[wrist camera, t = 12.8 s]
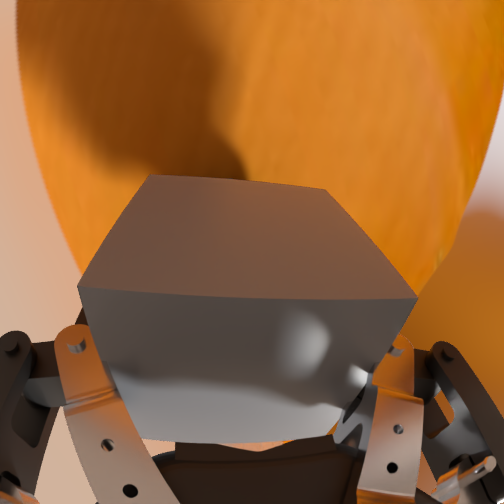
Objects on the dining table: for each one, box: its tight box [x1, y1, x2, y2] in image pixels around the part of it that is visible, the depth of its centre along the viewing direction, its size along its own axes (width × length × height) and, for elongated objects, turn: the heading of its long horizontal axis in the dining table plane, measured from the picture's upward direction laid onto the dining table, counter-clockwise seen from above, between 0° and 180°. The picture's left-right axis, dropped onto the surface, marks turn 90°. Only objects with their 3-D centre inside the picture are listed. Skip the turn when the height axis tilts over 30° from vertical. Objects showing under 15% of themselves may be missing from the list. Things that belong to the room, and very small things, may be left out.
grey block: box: [77, 174, 418, 444], centre depth 9 cm, size 7×7×7 cm
